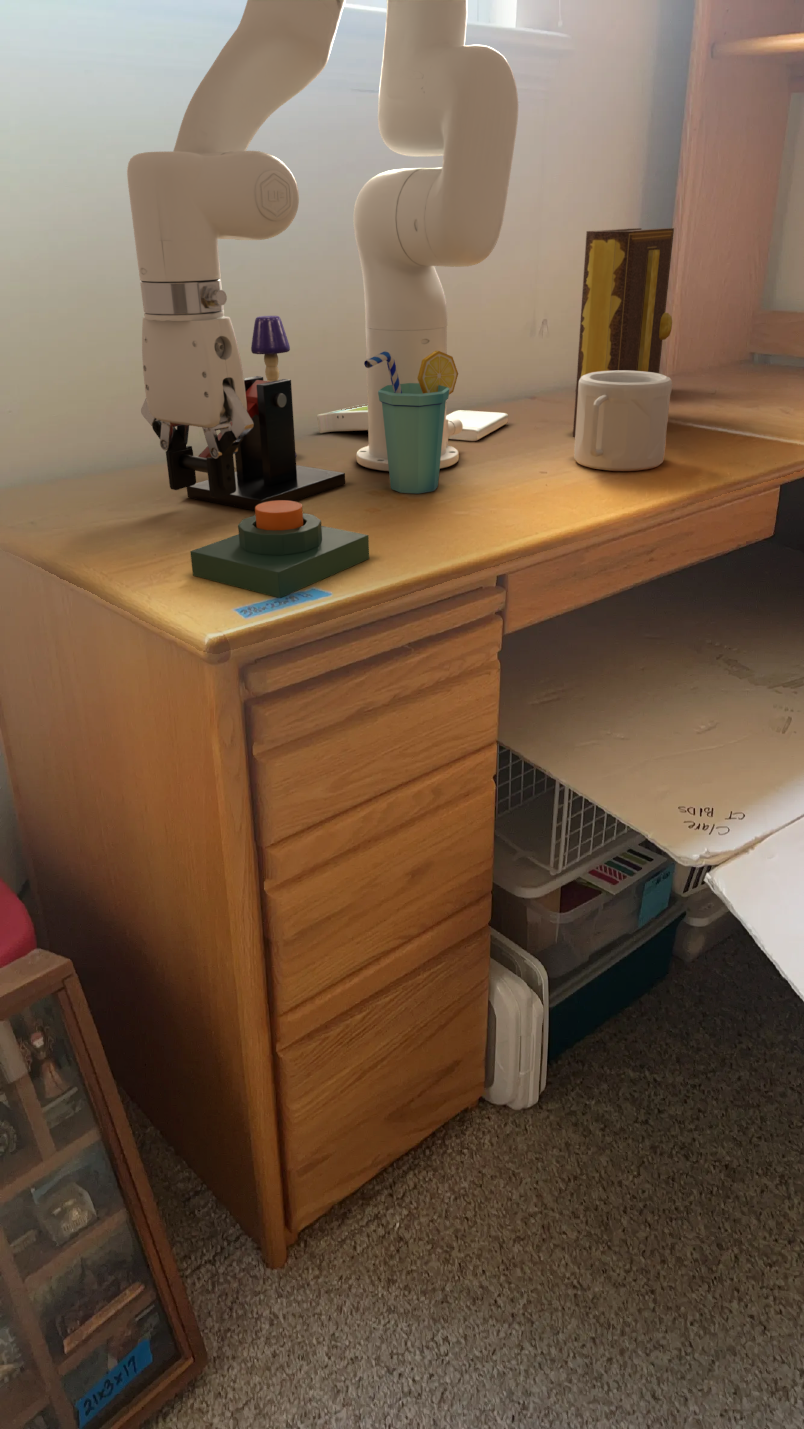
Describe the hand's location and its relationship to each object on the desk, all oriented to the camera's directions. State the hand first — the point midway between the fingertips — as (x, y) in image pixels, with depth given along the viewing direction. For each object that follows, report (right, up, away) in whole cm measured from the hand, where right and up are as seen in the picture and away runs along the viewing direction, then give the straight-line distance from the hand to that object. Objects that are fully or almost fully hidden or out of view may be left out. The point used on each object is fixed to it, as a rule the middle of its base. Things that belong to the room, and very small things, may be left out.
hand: (203, 489), depth 102 cm
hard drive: (+30, +16, +37) cm, 50 cm away
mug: (+46, +7, +17) cm, 50 cm away
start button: (+10, -7, -17) cm, 21 cm away
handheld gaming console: (+15, +16, +31) cm, 39 cm away
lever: (+3, +6, +2) cm, 7 cm away
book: (+51, +18, +39) cm, 67 cm away
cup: (+21, +2, +8) cm, 23 cm away
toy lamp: (+5, +9, +23) cm, 25 cm away
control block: (+10, -10, -16) cm, 21 cm away
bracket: (+6, +2, +8) cm, 10 cm away
